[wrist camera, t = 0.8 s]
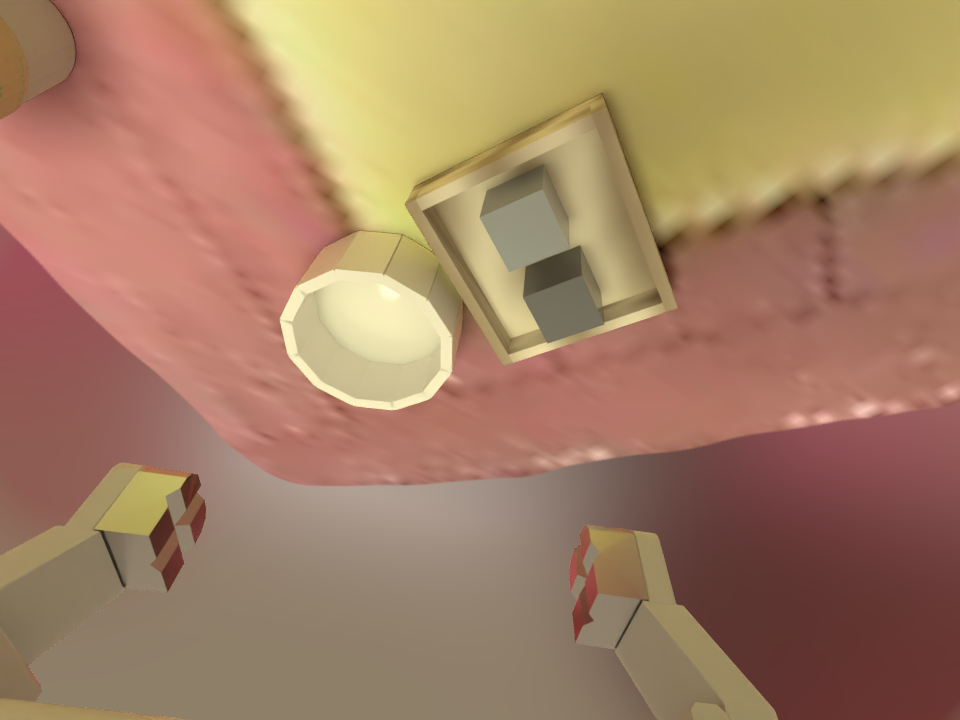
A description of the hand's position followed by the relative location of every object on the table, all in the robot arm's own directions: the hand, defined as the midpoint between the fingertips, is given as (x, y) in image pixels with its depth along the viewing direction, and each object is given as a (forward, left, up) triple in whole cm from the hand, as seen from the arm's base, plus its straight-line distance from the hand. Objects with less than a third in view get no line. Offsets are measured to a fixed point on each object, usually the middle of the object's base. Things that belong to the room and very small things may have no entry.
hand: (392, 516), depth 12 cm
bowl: (+14, +8, -28) cm, 33 cm away
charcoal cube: (0, +11, -27) cm, 29 cm away
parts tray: (0, +8, -28) cm, 29 cm away
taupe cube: (0, +5, -27) cm, 28 cm away
